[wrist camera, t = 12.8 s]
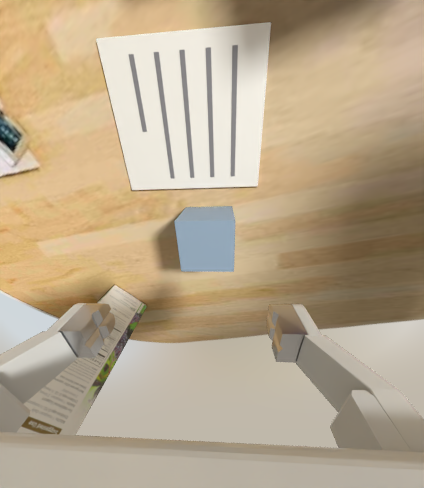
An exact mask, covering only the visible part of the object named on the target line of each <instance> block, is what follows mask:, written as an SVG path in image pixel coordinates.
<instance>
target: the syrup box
mask: <svg viewBox="0 0 424 488" xmlns="http://www.w3.org/2000/svg"><path fill="white" fill-rule="evenodd" d="M97 303H101V304H109V306H110V308H111V310H110V313H112V314H113V315H114V317H115V326H114V329H113V331H112V332H111V334H110V335H109V336H108V337H106V338H105V339H104V345H103V346H102V348H101V349H100V351H99V352H98V354H97V356H96V357H94V358H77V360H75V361H74V362H73V363H72V364H71V365H69V366H68V367H67V368H66V369H65V370H64V371H62V372H61V373H60V374H59V375H58V376H56V377H55V378H54V379H53V380H52V381H51V382H49V383H48V384H47V385H46V386H45V387H43V388H42V389H41V390H40V391H39V392H37V393H36V394H35V395H34V396H33V397H32V398H30V399H29V400H28V401H27V402H26V403H24V405H25V406H26V407H27V408H28V409H29V410H30V415H29V416H28V418H27V419H26V420H25V422H24V423H23V424H22V426H21V427H20V428H19V430H18V431H17V433H38V434H59V435H76V433H77V431H78V429H79V428H80V426H81V424H82V422H83V420H84V418H85V417H86V415H87V413H88V411H89V409H90V408H91V406H92V404H93V402H94V401H95V399H96V397H97V395H98V393H99V391H100V390H101V388H102V386H103V384H104V383H105V381H106V379H107V377H108V375H109V374H110V372H111V370H112V368H113V366H114V365H115V363H116V361H117V359H118V357H119V356H120V354H121V352H122V350H123V348H124V347H125V345H126V343H127V341H128V339H129V338H130V336H131V334H132V332H133V330H134V329H135V327H136V325H137V323H138V321H139V320H140V318H141V316H142V314H143V312H144V311H145V309H146V307H147V306H146V305H145V304H144V303H142V302H141V301H139V300H138V299H136V298H135V297H133V296H132V295H130V294H129V293H127V292H126V291H124V290H122V289H121V288H119V287H118V286H116V285H114V286H113V287H112V288H111V289H110V290H109V291H108V292H107V293H106V294H105V295H104V296H103V297H102V298H101V299H100V300H99V301H98V302H97Z"/></svg>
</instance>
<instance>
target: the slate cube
mask: <svg viewBox="0 0 424 488" xmlns="http://www.w3.org/2000/svg"><path fill="white" fill-rule="evenodd" d="M174 222H175V230H176V237H177V244H178V251H179V258H180V265H181V271H220V272H234V248H235V217H234V213H233V209H232V206H224V207H186V208H185V209H184V210H183V212H182V213H181V214H180V215H179V216H178V218H177V219H176V220H175V221H174Z"/></svg>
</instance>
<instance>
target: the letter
mask: <svg viewBox="0 0 424 488" xmlns="http://www.w3.org/2000/svg"><path fill="white" fill-rule="evenodd" d="M270 30H271V22H267V23H257V24H246V25H235V26H225V27H214V28H204V29H193V30H182V31H172V32H161V33H150V34H140V35H129V36H118V37H108V38H97V39H96V41H97V45H98V49H99V54H100V58H101V62H102V66H103V70H104V75H105V79H106V83H107V87H108V91H109V96H110V100H111V104H112V108H113V112H114V116H115V121H116V125H117V129H118V133H119V137H120V142H121V146H122V150H123V154H124V158H125V163H126V167H127V171H128V175H129V179H130V184H131V188H132V190H151V189H184V188H217V187H250V186H258V176H259V164H260V152H261V139H262V127H263V115H264V103H265V91H266V79H267V66H268V54H269V42H270Z"/></svg>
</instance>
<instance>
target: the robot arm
mask: <svg viewBox="0 0 424 488" xmlns="http://www.w3.org/2000/svg"><path fill="white" fill-rule="evenodd" d="M110 310H111V308H110V306H109V304H101V303H77V304H75V305H73V306H72V307H71V308H70V309H69V310H68V311H67V312H66V313H65V314H64V315H63V316H62V317H61V318H60V319H59V320H58V321H56V322H55V323H54V324H53V325H52V326H51V327H50V328H49V329H48V330H47V331H46V332H41V333H39V334H38V335H36V336H34V337H32V338H30V339H28V340H26V341H24V342H23V343H21V344H19V345H17V346H15V347H14V348H11V349H10V350H8V351H6V352H4V353H3V354H0V488H424V419H423V418H422V417H421V415H419V413H418V412H417V411H416V409H415V408H414V407H413V405H412V404H411V403H410V402H409V400H407V398H406V397H405V396H404V394H403V393H402V392H401V391H400V390H399V389H398V388H396V387H395V386H394V385H392V384H391V383H390V382H388V381H387V380H386V379H384V378H383V377H381V376H380V375H379V374H377V373H376V372H375V371H373V370H372V369H371V368H369V367H368V366H366V365H365V364H364V363H362V362H361V361H360V360H358V359H357V358H356V357H354V356H353V355H352V354H350V353H349V352H347V351H346V350H345V349H343V348H342V347H341V346H339V345H338V344H337V343H335V342H334V341H332V340H331V339H330V338H328V337H327V336H325V335H322V334H321V333H320V331H319V330H318V328H317V326H316V325H315V323H314V321H313V320H312V318H311V317H310V315H309V313H308V312H307V310H306V308H305V307H304V305H302V304H269V307H268V312H269V315H268V316H267V320H266V324H267V331H268V335H269V337H270V338H271V339H272V340H273V342H272V349H273V352H274V356H275V359H276V361H277V362H295V363H296V364H297V365H298V366H299V368H300V369H301V370H302V371H303V372H304V373H305V374H306V376H307V377H308V378H309V379H310V380H311V382H312V383H313V384H314V385H315V386H316V387H317V389H318V390H319V391H320V392H321V393H322V394H323V395H324V397H325V398H326V399H327V400H328V401H329V402H330V403H331V405H332V406H333V407H334V408H335V409H336V410H337V412H338V413H337V415H336V417H335V418H334V420H333V421H332V423H331V426H330V428H331V431H332V433H333V436H334V438H335V440H336V443H337V445H338V448H328V447H327V448H326V447H307V446H285V445H266V444H244V443H224V442H203V441H182V440H162V439H139V438H121V437H100V436H79V435H59V434H38V433H17V431H18V430H19V428H20V427H21V426H22V424H23V423H24V422H25V420H26V419H27V418H28V416H29V415H30V410H29V409H28V408H27V407H26V406H25V405H24V403H26V402H27V401H28V400H29V399H30V398H32V397H33V396H34V395H35V394H36V393H37V392H39V391H40V390H41V389H42V388H43V387H45V386H46V385H47V384H48V383H49V382H51V381H52V380H53V379H54V378H55V377H56V376H58V375H59V374H60V373H61V372H62V371H64V370H65V369H66V368H67V367H68V366H69V365H71V364H72V363H73V362H74V361H75V360H77V358H94V357H96V356H97V354H98V352H99V351H100V349H101V348H102V346H103V345H104V339H105V338H106V337H108V336H109V335H110V334H111V332H112V331H113V329H114V326H115V317H114V315H113V314H112V313H110Z"/></svg>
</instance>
